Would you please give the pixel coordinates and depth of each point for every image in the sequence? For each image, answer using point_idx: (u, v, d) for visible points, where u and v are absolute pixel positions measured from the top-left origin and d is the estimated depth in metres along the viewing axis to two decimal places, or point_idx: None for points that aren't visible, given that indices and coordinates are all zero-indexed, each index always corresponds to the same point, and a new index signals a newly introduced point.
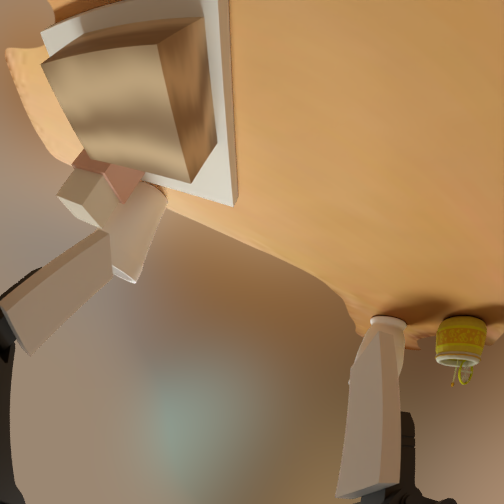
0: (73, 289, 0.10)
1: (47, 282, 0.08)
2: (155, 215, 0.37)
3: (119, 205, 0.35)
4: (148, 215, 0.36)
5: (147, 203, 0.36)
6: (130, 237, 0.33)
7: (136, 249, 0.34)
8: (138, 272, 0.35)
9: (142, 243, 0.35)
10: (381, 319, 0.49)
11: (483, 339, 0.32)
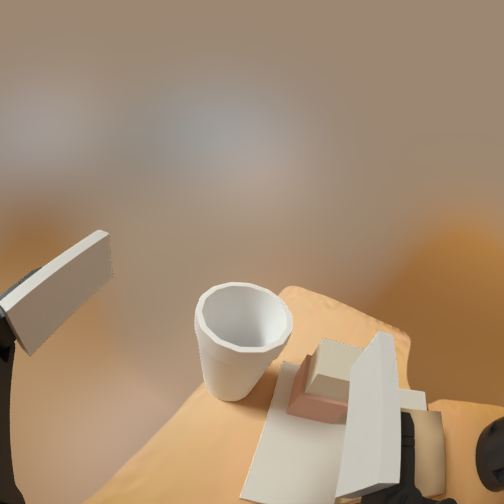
0: (73, 289, 0.10)
1: (47, 282, 0.08)
2: (230, 392, 0.28)
3: None
4: (241, 389, 0.27)
5: (247, 391, 0.29)
6: (257, 372, 0.25)
7: (244, 371, 0.24)
8: (222, 354, 0.22)
9: (236, 376, 0.25)
10: None
11: None
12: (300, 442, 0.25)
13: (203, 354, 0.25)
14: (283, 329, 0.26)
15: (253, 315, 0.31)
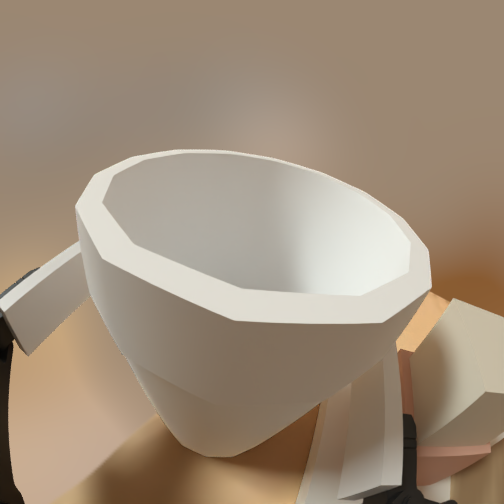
0: (71, 289, 0.10)
1: (45, 282, 0.08)
2: (215, 448, 0.09)
3: None
4: (245, 445, 0.09)
5: (258, 443, 0.10)
6: (303, 410, 0.07)
7: (257, 414, 0.05)
8: (146, 337, 0.04)
9: (227, 425, 0.06)
10: None
11: None
12: None
13: None
14: (390, 257, 0.07)
15: (280, 248, 0.12)
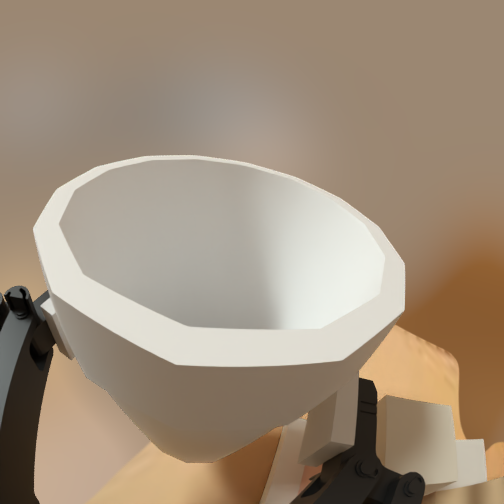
0: None
1: None
2: (192, 457, 0.09)
3: None
4: (221, 454, 0.09)
5: (236, 450, 0.10)
6: None
7: (223, 433, 0.05)
8: (103, 366, 0.04)
9: (197, 441, 0.06)
10: None
11: None
12: None
13: None
14: (364, 270, 0.07)
15: (252, 255, 0.12)
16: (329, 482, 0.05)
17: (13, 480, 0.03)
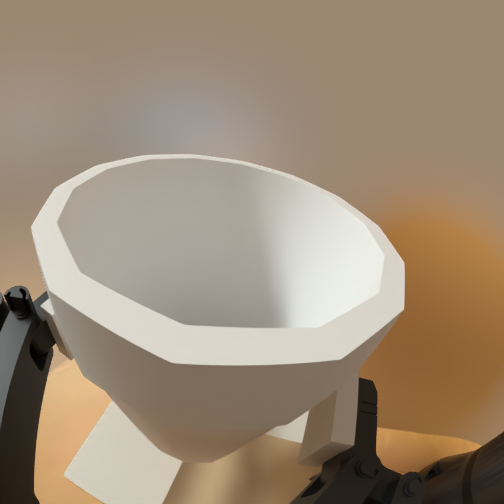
0: None
1: None
2: (191, 456, 0.09)
3: None
4: (220, 454, 0.08)
5: (235, 450, 0.10)
6: None
7: (222, 433, 0.05)
8: (100, 365, 0.04)
9: (196, 441, 0.06)
10: None
11: None
12: (136, 440, 0.20)
13: None
14: (363, 269, 0.07)
15: (251, 255, 0.12)
16: (329, 482, 0.05)
17: (13, 480, 0.03)
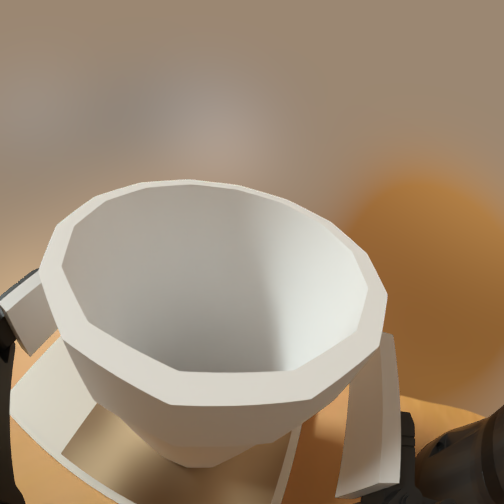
0: None
1: None
2: (192, 463, 0.09)
3: None
4: (218, 461, 0.09)
5: None
6: None
7: (217, 447, 0.06)
8: (109, 396, 0.04)
9: (194, 452, 0.06)
10: None
11: None
12: None
13: None
14: (349, 298, 0.08)
15: (246, 275, 0.12)
16: None
17: None
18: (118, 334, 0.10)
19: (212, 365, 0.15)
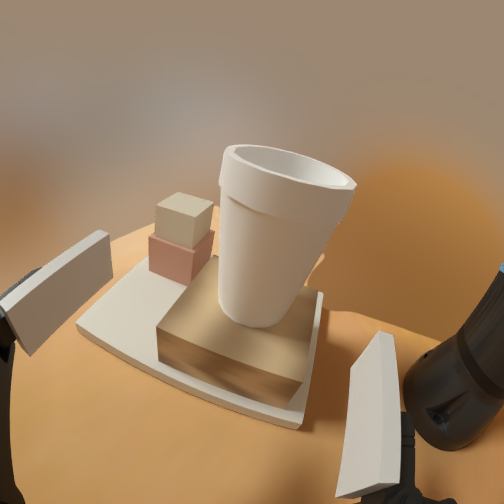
0: (73, 289, 0.10)
1: (47, 282, 0.08)
2: (264, 300, 0.20)
3: None
4: (281, 294, 0.20)
5: (285, 303, 0.21)
6: (312, 249, 0.18)
7: (297, 238, 0.16)
8: (270, 195, 0.15)
9: (282, 253, 0.17)
10: None
11: None
12: (150, 293, 0.30)
13: (230, 221, 0.18)
14: None
15: None
16: None
17: None
18: None
19: None
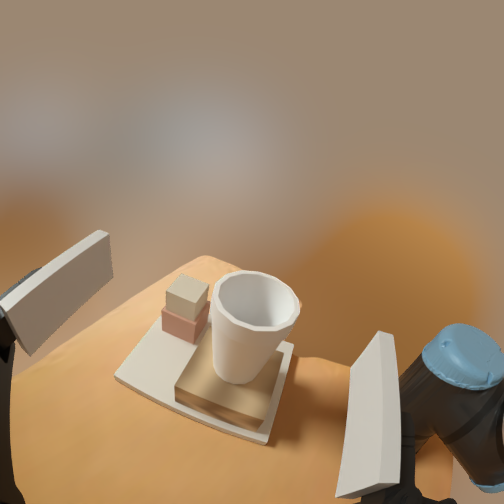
0: (73, 289, 0.10)
1: (47, 282, 0.08)
2: (240, 373, 0.30)
3: None
4: (251, 370, 0.30)
5: (255, 373, 0.32)
6: (268, 352, 0.28)
7: (256, 350, 0.27)
8: (238, 334, 0.25)
9: (248, 356, 0.28)
10: None
11: None
12: (165, 350, 0.40)
13: (218, 336, 0.28)
14: (291, 312, 0.29)
15: (261, 302, 0.33)
16: None
17: None
18: None
19: None
